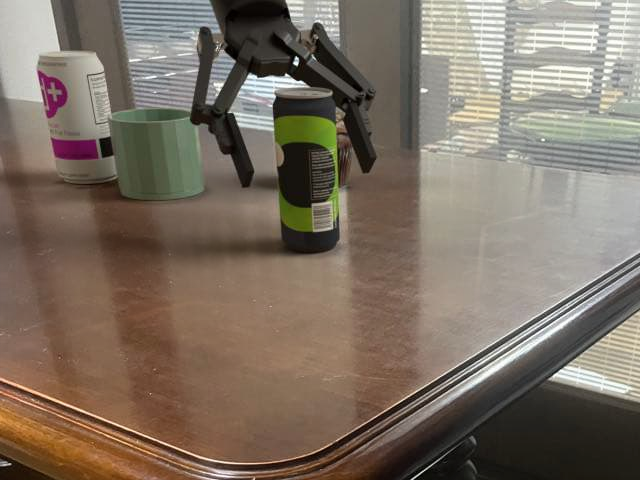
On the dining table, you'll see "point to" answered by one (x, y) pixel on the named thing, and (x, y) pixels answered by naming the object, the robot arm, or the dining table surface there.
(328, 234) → the beverage can
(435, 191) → the dining table surface
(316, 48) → the robot arm
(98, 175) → the supplement can
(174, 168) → the green faceted cup
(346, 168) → the cupcake
